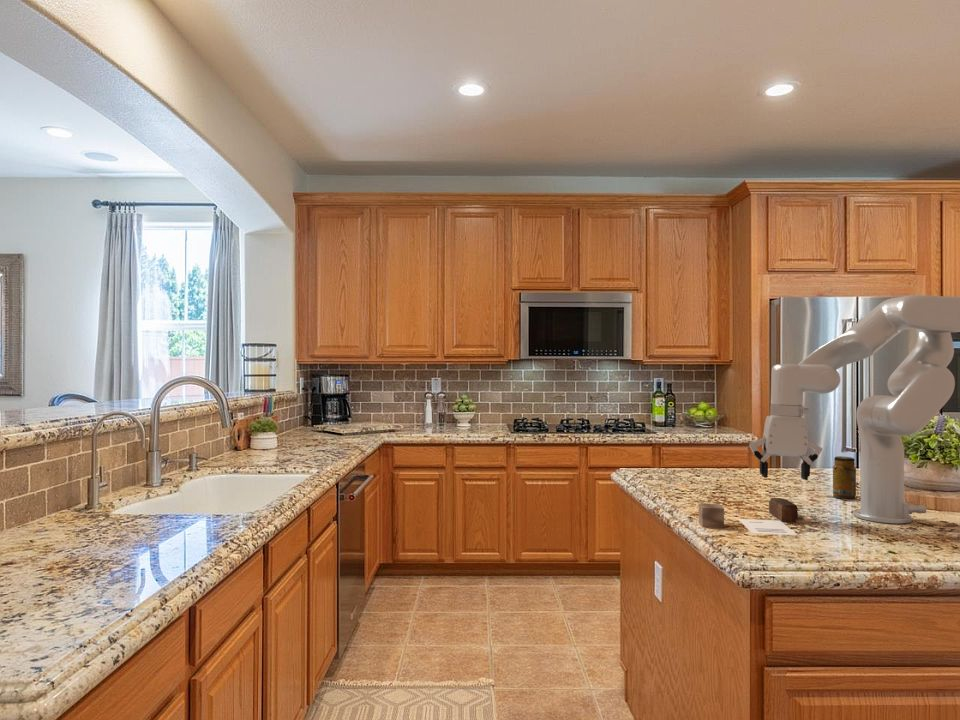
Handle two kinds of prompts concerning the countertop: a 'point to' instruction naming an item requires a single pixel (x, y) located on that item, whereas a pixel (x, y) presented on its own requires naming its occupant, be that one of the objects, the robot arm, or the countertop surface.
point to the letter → (766, 527)
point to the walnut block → (711, 515)
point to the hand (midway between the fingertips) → (784, 478)
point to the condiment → (844, 479)
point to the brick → (783, 510)
